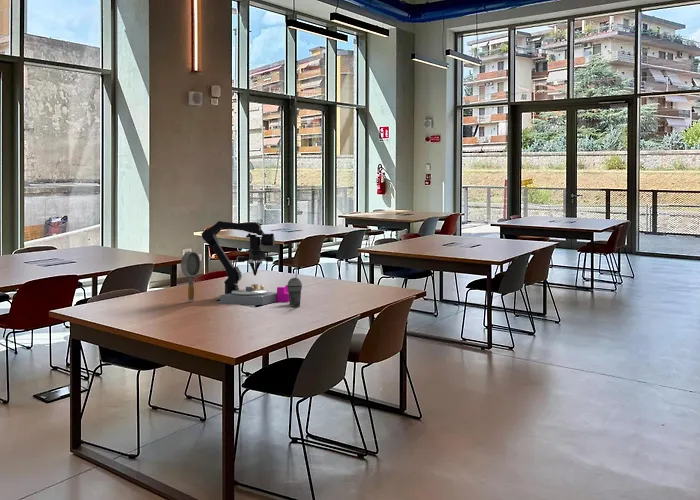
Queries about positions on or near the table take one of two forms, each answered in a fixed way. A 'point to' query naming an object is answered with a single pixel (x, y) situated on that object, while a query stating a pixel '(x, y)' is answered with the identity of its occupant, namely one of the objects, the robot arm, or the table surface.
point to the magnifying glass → (190, 270)
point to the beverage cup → (294, 291)
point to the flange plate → (250, 291)
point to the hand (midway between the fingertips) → (255, 275)
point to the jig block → (249, 298)
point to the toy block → (282, 294)
